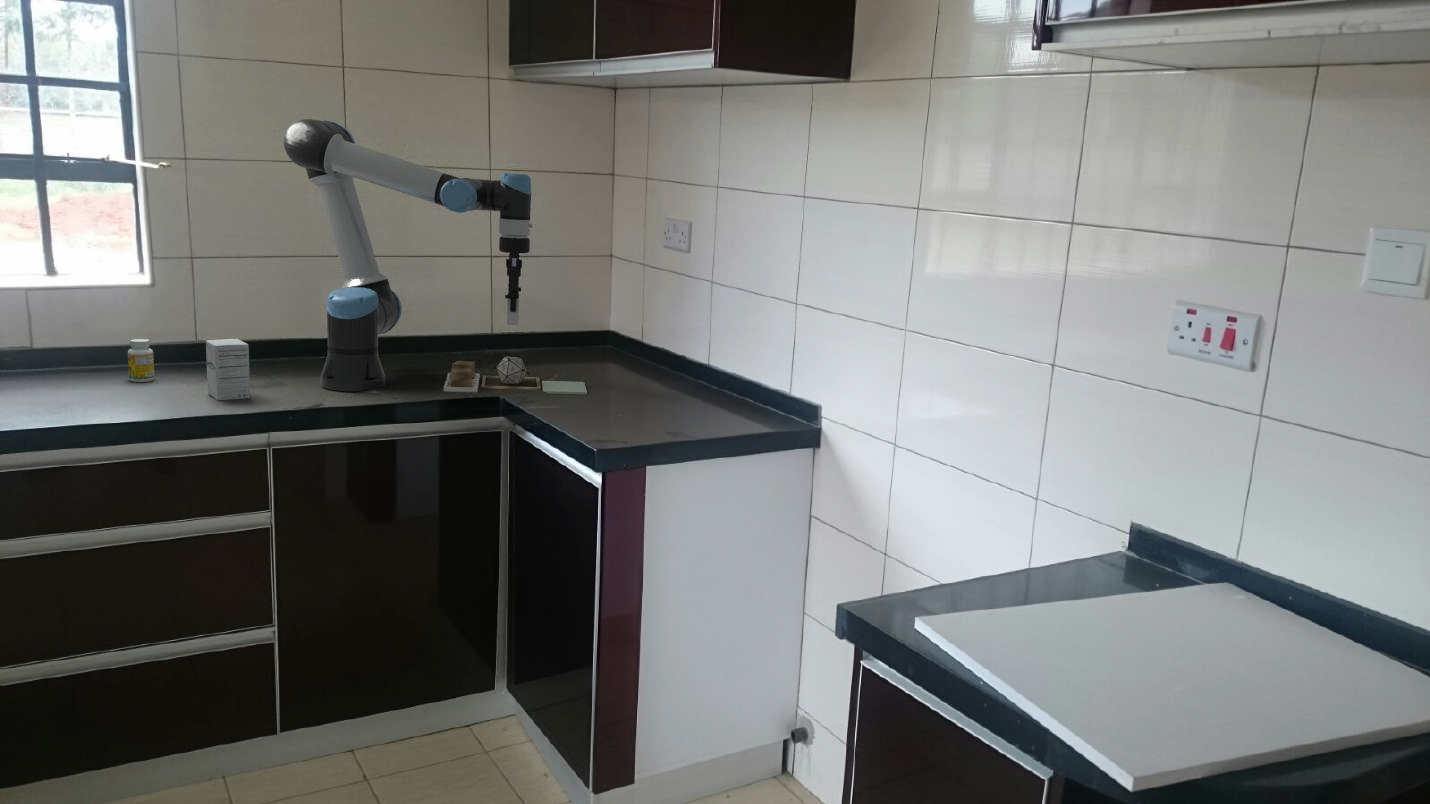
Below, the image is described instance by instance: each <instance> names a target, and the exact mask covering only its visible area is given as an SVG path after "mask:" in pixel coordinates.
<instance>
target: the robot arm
mask: <svg viewBox="0 0 1430 804" xmlns="http://www.w3.org/2000/svg"><path fill="white" fill-rule="evenodd" d="M283 146H284V151H285V153H286V154H287V156H288V158H289V159H290V160H291V162H293V163H294V164H295V165H297V166H299V167H301V168H304V169H305V171H306V175H307V178H308V181H309V182H310V183H312V184H314V185H315V186H316V187H317V189H318V192H319V196H320V198H321V203H322V206H323V209H324V212H325V216H326V220H327V223H328V226H329V229H330V232H331V236H332V239H333V244H334V246H335V249H336V253H337V257H338V259H339V263H340V266H341V269H342V270H341V271H342V274H343V276H344V280H345V281H344V282H343V284H342V286H341V288H338V289H335V290H333V291H330V293H329V294H328V296H327V304H326V306H325V307H326V308H325V309H326V319H327V320H326V325H327V329H326V330H327V356H326V359H325V362H324V366H323V369H322V371H321V374H320V387H321V388H323V389H327V390H331V391H335V392H336V391H339V392H367V391H370V390H371V389H372V390H374V389H378V388H382V387H384V386H386V375H385V371H384V369H383V365H382V363H381V360H380V357H379V335H383V334H387V333H388V332H390V331H391V330H392V329H393V328H394V327H396V326H397V324H398V323H399V322H400V319H401V317H402V311H403V310H402V309H403V308H402V303H401V299H400V298H399V296H398V295H397V293H396V292H394V291H393V290H392V289H391V286H390V281H389V279H388V277H387V276H385V275H384V274H382V273H381V272H380V269H379V266H378V263H377V259H376V255H375V252H374V248H373V245H372V242H371V238H370V235H369V231H368V228H367V224H366V220H365V217H364V214H363V211H362V207H361V206H362V205H361V203H360V200H359V196H358V192H357V189H356V186H355V182H354V178H355V179H357V180H361V181H365V182H367V183H371V184H374V185H376V186H380V187H383V188H387V189H390V190H392V191H395V192H399V193H402V194H405V195H408V196H411V197H414V198H418V199H420V200H423V201H427V202H430V203H432V204H433V203H434V204H436V205H438V206H442V207H444V208H446V209H447V210H449V211H451V212H455V213H459V214H460V213H466V212H469V211H470V212H471V211H490V212H491V211H493V212H499V221H498V223H499V229H498V230H499V231H498V233H499V235H501V236H500V237H499V240H498V241H499V242H498V250H499V252H501V253H504V254H505V253H507V254H508V253H509V254H508V258H506V259H505V267H506V276H507V277H508V284H507V285H508V289H507V290H508V291H507V294H505V296H504V299H506V300H507V306H506V307H507V311H506V312H507V314H506V315H507V316H506V318H507V319H506V325H507V326H519V312H520V311H519V310H520V309H519V308H520V305H519V304H520V301H519V300H520V299H519V298H520V293H519V292H522V287H520V286H519V284H520V283H519V282H520V280H519V279H520V277H521V275H522V268H523V259H520V254H528V253H530V245H531V240H530V238H529V237H528V236H530V233H531V230H530V228H531V229H532V228H533V223H531V209H532V207H531V205H532V179H531V177H530V176H529V175H528V174H525V173H513V172H512V173H511V172H502V173H501V174H500V178H499V180H498V179H497V180H492V179H491V180H490V179H480V178H468V177H462V178H461V177H458V176H454V175H452V174H449V173H448V174H447V173H445V172H443V171H442V172H441V171H439V170H436V169H433V168H429V167H426V166H423V165H421V164H418V163H414V162H411V161H408V160H405V159H402V158H399V157H396V156H393V155H390V154H386V153H384V152H381V151H378V150H375V149H372V148H369V147H365V146H362V145H360V144H356V140H355V139H354V137H353V135H352V133H351V132H350V131H349V130H348V129H347V128H346V127H344V126H343V125H341V124H339V123H337V122H335V121H331V120H325V119H324V120H318V119H312V118H304V119H299V120H297V121H295V122H294V123H292V124H291V125H290V126H289V127H288V128H287V130H286V131H285V133H284V137H283Z"/></svg>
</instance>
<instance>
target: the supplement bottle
mask: <svg viewBox="0 0 1430 804" xmlns="http://www.w3.org/2000/svg"><path fill="white" fill-rule="evenodd" d="M150 342H151V341H150V339H145V338H135V339H130V341H129V344H130V345H129V346H130V347H131V348H129V349H128V350H127V367H128V380H129V381H130V382H133V383H147V382H153V381H154V380H155V364H154V363H155V362H154V350H153V349H152V348H150V345H151V344H150Z"/></svg>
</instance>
